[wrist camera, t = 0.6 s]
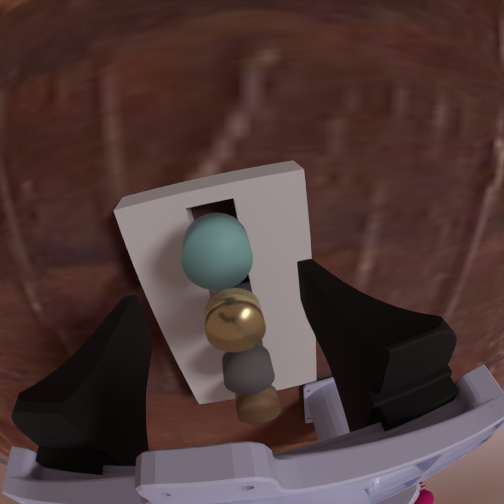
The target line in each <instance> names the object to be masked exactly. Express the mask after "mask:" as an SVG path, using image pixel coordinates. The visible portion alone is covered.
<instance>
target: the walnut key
mask: <svg viewBox="0 0 504 504" xmlns="http://www.w3.org/2000/svg"><path fill="white" fill-rule="evenodd" d="M235 400H236V407H237V415H238V418H239V420H241V421H242V422H244V423H248V424H260V423H265V422H268V421H271V420H273V419H275V418H276V417H277V416H278V415H279V414H280V413H281V407H280V403H279V399H278V395H277V391H276V388H275V387H274V386H272V385H271V386H269V387H268V388H267V389H265V390H263V391H261V392H258V393H254V394H237V393H236V394H235Z"/></svg>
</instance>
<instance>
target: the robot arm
mask: <svg viewBox="0 0 504 504" xmlns="http://www.w3.org/2000/svg"><path fill="white" fill-rule="evenodd" d="M297 268H298V278H299V289H300V300H301V303H302V306H303V309H304V312H305V315H306V318H307V320H308V322H309V324H310V326H311V328H312V330H313V332H314V334H315V336H316V338H317V340H318V343H319V345H320V347H321V349H322V351H323V353H324V355H325V357H326V359H327V362H328V364H329V367H330V369H331V372H332V375H333V377H331V378H327V379H324V380H320V381H316V382H313V383H309V384H305V385H304V386H303V398H304V414H305V422H306V423H311V422H313V423H314V427H315V430H316V433H317V436H318V439H319V442H316V443H312V444H308V445H305V446H300V447H296V448H292V449H288V450H283V451H278V452H274V453H272V451H271V449H269V448H268V447H267V446H265V445H264V444H262V443H257V442H251V441H239V442H227V443H220V444H212V445H203V446H194V447H183V448H169V449H155V450H149V449H148V440H147V427H146V388H147V380H148V373H149V366H150V358H151V351H152V328H151V326H150V324H149V322H148V320H147V318H146V316H145V314H144V311H143V309H142V307H141V305H140V303H139V301H138V298H137V296H136V295H132V296H127V297H123V298H122V299H121V300H120V302H119V303H118V304H117V305H116V306H115V308H114V309H113V310H112V311H111V313H110V314H109V315H108V316H107V318H106V319H105V320H104V321H103V323H102V324H101V325H100V326H99V328H98V329H97V330H96V331H95V332H94V333H93V334H92V336H91V337H90V338H89V339H88V340H87V342H86V343H85V344H84V345H83V346H82V347H81V348H80V349H79V350H78V351H77V352H76V353H75V354H74V355H73V356H72V357H71V358H70V359H68V360H67V361H66V362H65V363H64V364H62V365H61V366H60V367H59V368H58V369H57V370H55V371H54V372H53V373H51V374H50V375H49V376H47V377H46V378H44V379H43V380H41V381H40V382H38V383H37V384H35V385H33V386H31V387H30V388H28V389H26V390H24V391H23V392H21V393H19V396H18V398H17V401H16V404H15V407H14V410H13V413H12V416H11V417H12V420H13V422H14V424H15V425H16V426H17V428H18V429H19V430H20V431H22V432H23V433H24V434H25V435H26V436H27V437H28V438H30V439H31V440H32V441H33V442H34V443H36V444H37V445H38V446H39V448H38V452H35V451H33V450H31V449H28V448H22V447H17V446H12V448H11V452H10V455H9V459H8V463H7V468H6V472H5V477H4V481H3V486H2V493H3V494H4V495H6V496H8V497H10V498H11V499H13V500H15V501H16V502H18V503H20V504H414V502H415V501H416V499H417V498H418V496H419V494H420V492H419V490H420V484H419V483H420V482H421V481H423V480H425V479H427V478H429V477H430V476H432V475H434V474H436V473H438V472H439V471H441V470H443V469H444V468H446V467H448V466H449V465H451V464H453V463H454V462H456V461H458V460H459V459H461V458H462V457H464V456H465V455H467V454H469V453H470V452H472V451H473V450H475V449H477V448H478V447H480V446H481V445H483V444H484V443H486V442H487V441H488V440H489V439H490V438H491V437H492V436H493V435H494V434H495V433H496V432H497V430H498V429H499V428H500V427H501V426H502V425H503V424H504V392H503V390H502V389H501V387H500V386H499V384H498V383H497V382H496V380H495V379H494V377H493V376H492V375H491V373H490V372H489V370H488V369H487V368H486V366H485V365H484V364H482V365H480V366H478V367H476V368H475V369H473V370H471V371H469V372H467V373H465V374H464V375H462V376H461V377H460V378H459V379H458V380H457V381H456V382H455V383H454V382H453V380H452V379H451V377H450V376H451V374H452V371H451V369H450V368H449V366H448V363H449V361H450V358H451V356H452V354H453V351H454V348H455V345H456V335H455V333H454V332H453V330H452V329H451V328H450V327H449V325H448V324H447V323H446V322H445V321H444V319H443V318H442V317H441V316H435V315H429V314H423V313H418V312H414V311H410V310H406V309H402V308H399V307H396V306H393V305H390V304H387V303H385V302H382V301H379V300H377V299H375V298H373V297H370V296H368V295H366V294H364V293H362V292H360V291H358V290H357V289H355V288H353V287H351V286H350V285H348V284H346V283H345V282H343V281H342V280H340V279H339V278H337V277H336V276H334V275H333V274H331V273H330V272H329V271H327V270H326V269H324V268H323V267H322V266H320V265H319V264H318V263H316V262H315V261H314V260H312V259H306V260H302V261H297Z"/></svg>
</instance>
